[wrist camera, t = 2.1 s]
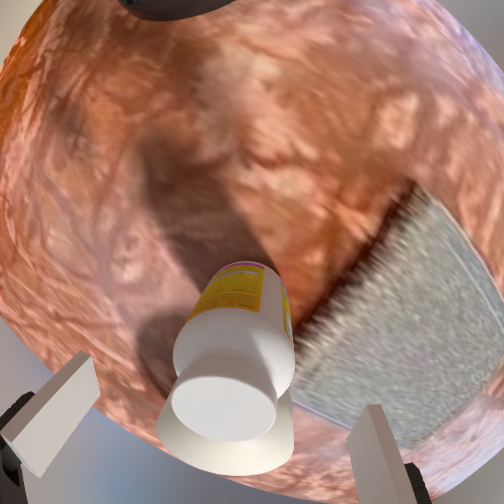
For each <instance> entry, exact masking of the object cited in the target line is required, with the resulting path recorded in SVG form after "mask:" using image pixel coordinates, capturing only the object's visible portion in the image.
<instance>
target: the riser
mask: <svg viewBox="0 0 504 504" xmlns="http://www.w3.org/2000/svg"><path fill="white" fill-rule="evenodd" d="M177 380H178V378H177ZM177 380H176V381H175V383H174V385H173V388H172V390H171V392H170V394H169V396H168V398H167V400H166V402H165V404H164V407H163V409H162V411H161V413H160V415H159V417H158V419H157V423H156V431H157V435H158V437H159V439H160V441H161V442H162V444H163V445H164V446H165V447H166V448H167V449H168V450H169V451H170V452H171V453H172V454H173V455H175V456H176V457H177V458H179V459H180V460H182V461H184V462H186V463H187V464H189V465H192V466H194V467H196V468H199V469H202V470H205V471H208V472H212V473H217V474H223V475H232V476H246V475H255V474H260V473H264V472H268V471H271V470H273V469H275V468H277V467H279V466H281V465H282V464H284V463H285V462H286V461H287V460H288V459H289V458H290V456H291V455H292V452H293V449H294V437H293V415H292V400H291V396H290V394H289V392H288V390H286V391H285V392H284V393H283V394H282V395H281V396H280V397H279V398H278V399H277V412H276V419H275V422H274V424H273V426H272V427H271V428H270V429H269V430H268V431H267V432H266V433H264V434H263V435H261V436H259V437H257V438H255V439H252V440H247V441H240V442H225V441H219V440H214V439H210V438H207V437H204V436H202V435H200V434H198V433H196V432H194V431H192V430H191V429H189V428H188V427H186V426H185V425H184V424H183V423H182V422H181V421H180V420H179V419H178V417H177V416H176V415H175V413H174V411H173V408H172V405H171V395H172V391H173V389H174V386H175V384H176V382H177Z"/></svg>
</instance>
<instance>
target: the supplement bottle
mask: <svg viewBox="0 0 504 504" xmlns="http://www.w3.org/2000/svg"><path fill="white" fill-rule="evenodd" d="M173 364H174V368H175V371H176V374H177V376H178V380H177V382H176V384H175V386H174V389H173V391H172V395H171V405H172V408H173V411H174V413H175V415H176V416H177V417H178V419H179V420H180V421H181V422H182V423H183V424H184V425H185V426H186V427H188V428H189V429H191V430H192V431H194V432H196V433H198V434H200V435H202V436H204V437H207V438H210V439H214V440H219V441H225V442H240V441H247V440H252V439H255V438H257V437H259V436H261V435H263V434H264V433H266V432H267V431H268V430H269V429H270V428H271V427H272V426H273V424H274V422H275V419H276V412H277V399H278V398H279V397H280V396H281V395H282V394H283V393H284V392H285V391H286V390H287V388H288V387H289V385H290V383H291V381H292V378H293V375H294V370H295V355H294V346H293V337H292V329H291V319H290V309H289V301H288V295H287V291H286V288H285V285H284V283H283V281H282V280H281V278H280V277H279V276H278V274H277V273H276V272H274V271H273V270H272V269H271V268H269V267H267V266H266V265H263V264H261V263H258V262H253V261H238V262H234V263H231V264H229V265H226V266H224V267H223V268H221V269H220V270H219V271H218V272H217V273H216V274H215V275H214V276H213V277H212V279H211V280H210V282H209V283H208V285H207V287H206V288H205V290H204V292H203V293H202V295H201V297H200V298H199V300H198V302H197V304H196V305H195V307H194V309H193V310H192V312H191V314H190V315H189V317H188V319H187V321H186V322H185V324H184V326H183V327H182V329H181V331H180V332H179V335H178V337H177V339H176V341H175V344H174V349H173Z"/></svg>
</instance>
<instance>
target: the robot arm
mask: <svg viewBox="0 0 504 504" xmlns="http://www.w3.org/2000/svg"><path fill="white" fill-rule="evenodd" d="M118 1H119V3H120V4H121V5H122V6H123V7H124V8H125V9H126V10H127V11H128V12H129V13H130V14H132V15H133V16H135V17H138V18H140V19H144V20H150V21H171V20H179V19H184V18H189V17H193V16H197V15H201V14H204V13H207V12H210V11H213V10H216V9H218V8H221V7H223V6H225V5H227V4H229V3H231V2H233V1H235V0H118ZM100 395H101V394H100V390H99V386H98V382H97V378H96V374H95V369H94V364H93V360H92V355H89V354H87V353H84V352H82V351H79V352H78V353H77V354H76V355H75V356H74V357H73V358H72V359H71V360H70V361H69V362H67V363H66V364H65V365H64V366H63V367H62V368H61V369H60V370H59V371H58V372H57V373H56V374H55V375H54V376H53V377H52V378H51V379H50V380H49V381H48V382H47V383H46V384H45V385H44V386H43V387H42V388H41V389H40V390H39V391H38V392H37V393H36V394H34V393H33V392H28V393H26V394H24V395H22V396H21V397H20V398H19V399H18V400H17V401H16V403H14V404H13V405H12V406H11V408H9V409H8V410H7V411H6V412H5V413H4V414H3V415H2V416H1V417H0V504H28V501H27V497H26V492H25V487H24V481H23V475H22V469H21V467H20V464H21V463H23V464H24V466H25V467H26V468H27V469H28V470H29V471H31V472H32V473H33V474H35V475H36V476H38V477H39V478H40V477H41V476H42V474H43V473H44V471H45V470H46V469H47V467H48V466H49V464H50V463H51V461H52V460H53V459H54V457H55V456H56V454H57V453H58V451H59V450H60V449H61V447H62V446H63V444H64V443H65V442H66V440H67V439H68V438H69V436H70V435H71V433H72V432H73V431H74V429H75V428H76V427H77V425H78V424H79V422H80V421H81V420H82V418H83V417H84V416H85V414H86V413H87V412H88V410H89V409H90V408H91V406H92V405H93V404H94V402H95V401H96V400H97V398H98V397H99V396H100ZM346 440H347V445H348V449H349V454H350V458H351V463H352V467H353V472H354V477H355V482H356V487H357V492H358V497H359V502H360V504H432V503H431V500H430V497H429V494H428V491H427V489H426V488H425V483H424V481H423V480H422V479H423V478H422V475H421V473H420V470H419V469H418V468H417V467H416V466H415V465H414V464H413V462H412V463H407V464H404V463H403V461H402V458H401V455H400V452H399V450H398V447H397V445H396V442H395V439H394V437H393V434H392V432H391V429H390V427H389V424H388V422H387V419H386V417H385V414H384V412H383V409H382V407H381V405H380V404H376V405H366V407H365V408H364V410H363V412H362V414H361V416H360V417H359V419H358V421H357V423H356V424H355V426H354V428H353V429H352V431H351V433H350V434H349V436H348V437H347V439H346Z"/></svg>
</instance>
